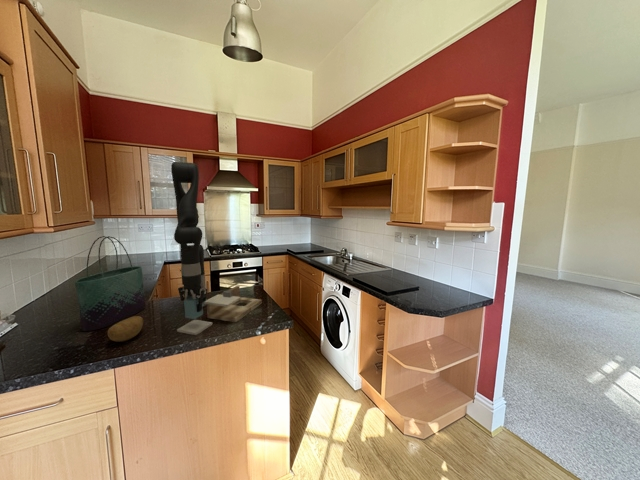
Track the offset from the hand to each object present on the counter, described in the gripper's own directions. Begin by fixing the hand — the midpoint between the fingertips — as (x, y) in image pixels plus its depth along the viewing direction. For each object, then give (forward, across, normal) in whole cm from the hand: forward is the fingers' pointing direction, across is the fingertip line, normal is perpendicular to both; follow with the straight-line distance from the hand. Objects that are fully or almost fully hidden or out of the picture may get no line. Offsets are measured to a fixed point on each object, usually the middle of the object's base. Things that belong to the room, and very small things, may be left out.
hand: (194, 310), depth 112 cm
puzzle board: (+8, -6, -22) cm, 24 cm away
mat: (+8, 0, 0) cm, 8 cm away
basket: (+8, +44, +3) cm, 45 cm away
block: (+2, 0, 0) cm, 2 cm away
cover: (-1, -6, -12) cm, 13 cm away
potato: (+8, +20, +15) cm, 26 cm away
